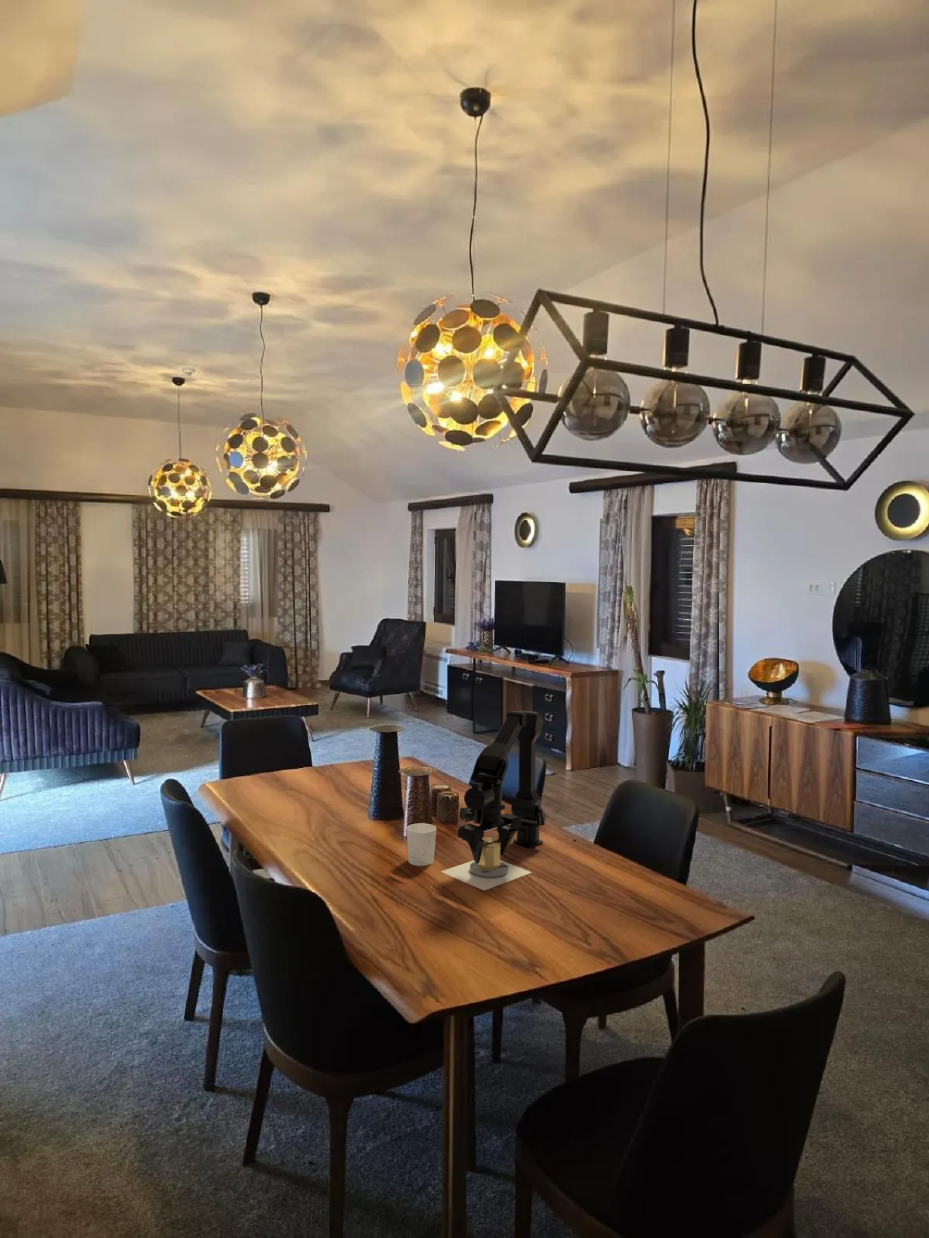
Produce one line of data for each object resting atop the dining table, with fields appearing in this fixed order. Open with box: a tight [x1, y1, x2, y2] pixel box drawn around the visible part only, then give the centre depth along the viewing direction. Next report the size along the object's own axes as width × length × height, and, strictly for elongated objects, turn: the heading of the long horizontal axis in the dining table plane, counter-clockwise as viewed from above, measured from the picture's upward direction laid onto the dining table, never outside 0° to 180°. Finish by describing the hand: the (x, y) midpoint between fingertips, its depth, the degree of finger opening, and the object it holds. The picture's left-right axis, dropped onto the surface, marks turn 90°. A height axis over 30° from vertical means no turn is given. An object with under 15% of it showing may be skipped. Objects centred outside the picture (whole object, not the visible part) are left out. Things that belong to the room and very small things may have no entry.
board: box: [440, 859, 532, 891], centre depth 206 cm, size 18×16×1 cm
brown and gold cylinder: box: [478, 836, 501, 871], centre depth 206 cm, size 6×6×7 cm
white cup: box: [406, 822, 437, 867], centre depth 212 cm, size 8×8×10 cm
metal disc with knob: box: [470, 862, 508, 878], centre depth 206 cm, size 10×10×6 cm
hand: (489, 858), depth 206 cm, fingers open, 9 cm apart
